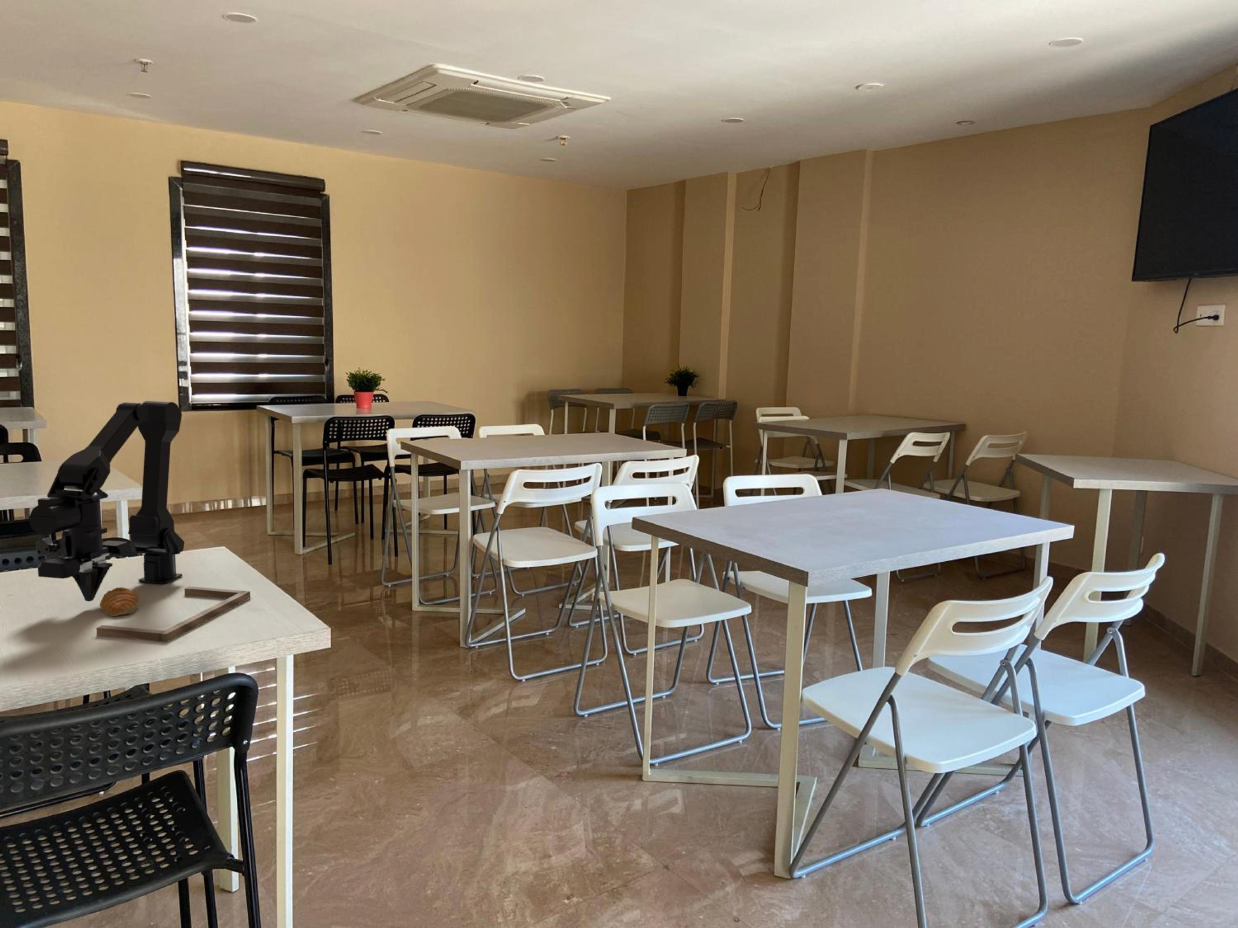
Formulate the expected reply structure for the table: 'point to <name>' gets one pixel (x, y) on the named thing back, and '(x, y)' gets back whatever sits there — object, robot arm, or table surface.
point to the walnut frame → (184, 626)
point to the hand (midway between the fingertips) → (89, 600)
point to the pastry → (119, 602)
